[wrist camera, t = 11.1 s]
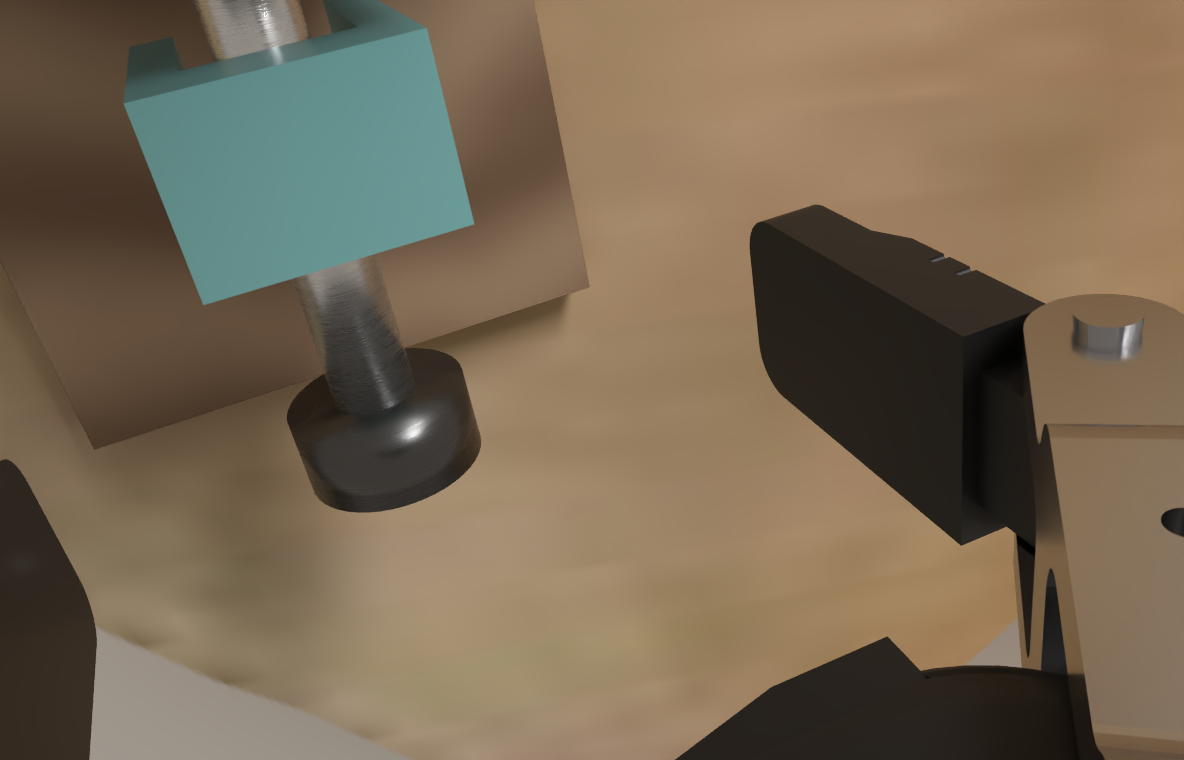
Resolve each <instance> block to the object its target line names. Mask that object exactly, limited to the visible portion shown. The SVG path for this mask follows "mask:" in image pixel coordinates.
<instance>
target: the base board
mask: <svg viewBox="0 0 1184 760" xmlns="http://www.w3.org/2000/svg"><path fill="white" fill-rule="evenodd" d="M299 1H300V4H301V7H302V11H303V14H304V17H305V21H306V24H307V27H308V30H309V34H310V37H311V38H315V37H319V36H324V35H328V34H332V31H331V27H330V24H329V20H328V17H327V13H326V10H325V6H324V3H323V1H325V0H299ZM379 1H380V2H382V3H384V4H386V5H387V6H389V7H391V8H393V9H394V10H396V11H398V12H400V13H401V14H403V15H405V16H407V17H408V18H410V19H412V20H414V21H415V22H417V23H419V24H421V25H423V26H424V27H426V28H427V31H428V35H429V39H430V43H431V47H432V51H433V55H434V59H435V64H436V68H437V72H438V76H439V80H440V84H441V88H442V92H443V97H444V101H445V105H446V109H447V113H448V117H449V121H450V125H451V130H452V134H453V138H454V142H455V146H456V150H457V154H458V158H459V163H460V167H461V171H462V175H463V179H464V183H465V187H466V191H467V196H468V200H469V204H470V208H471V212H472V216H473V220H474V225H470V226H467V227H464V228H460V229H457V230H454V231H450V232H447V233H444V234H440V235H437V236H434V237H430V238H427V239H423V240H420V241H417V242H413V243H410V244H407V245H403V246H400V247H397V248H393V249H390V250H387V251H383V252H380V253H377V254H376V255H377V258H378V262H379V265H380V268H381V271H382V275H383V278H384V281H385V285H386V288H387V291H388V295H389V298H390V301H391V304H392V308H393V311H394V314H395V318H396V321H397V324H398V328H399V331H400V334H401V337H402V341H403V344H404V347H408V346H411V345H414V344H418V343H421V342H424V341H427V340H430V339H433V338H436V337H439V336H442V335H445V334H448V333H451V332H454V331H457V330H460V329H463V328H466V327H469V326H472V325H475V324H479V323H482V322H485V321H488V320H491V319H494V318H497V317H500V316H503V315H506V314H509V313H512V312H515V311H518V310H521V309H524V308H527V307H530V306H533V305H536V304H540V303H543V302H546V301H549V300H552V299H555V298H558V297H561V296H564V295H567V294H570V293H573V292H576V291H579V290H582V289H585V288H588V287H590V286H589V281H588V276H587V271H586V266H585V260H584V255H583V250H582V245H581V240H580V235H579V230H578V225H577V220H576V215H575V209H574V204H573V199H572V194H571V189H570V184H569V179H568V174H567V169H566V164H565V158H564V153H563V148H562V143H561V138H560V133H559V128H558V123H557V118H556V113H555V107H554V102H553V97H552V92H551V87H550V82H549V77H548V72H547V67H546V62H545V56H544V51H543V46H542V41H541V36H540V31H539V26H538V21H537V16H536V11H535V5H534V0H379ZM169 37H173V38H174V41H175V44H176V47H177V49H178V52H179V55H180V58H181V60H182V63H183V66H184V69H189V68H193V67H197V66H201V65H205V64H209V63H213V62H215V60H214V58H213V55H212V52H211V49H210V46H209V43H208V40H207V38H206V35H205V32H204V29H203V26H202V23H201V21H200V18H199V15H198V12H197V9H196V6H195V3H194V1H193V0H0V261H1V263H2V265H3V267H4V269H5V271H6V273H7V275H8V277H9V279H10V281H11V283H12V285H13V287H14V289H15V292H16V294H17V296H18V298H19V300H20V302H21V304H22V306H23V308H24V310H25V312H26V314H27V316H28V318H29V320H30V322H31V324H32V326H33V328H34V330H35V332H36V334H37V336H38V338H39V340H40V342H41V344H42V346H43V348H44V350H45V352H46V354H47V356H48V358H49V360H50V362H51V364H52V366H53V368H54V370H55V372H56V374H57V376H58V378H59V380H60V382H61V384H62V386H63V388H64V390H65V392H66V394H67V396H68V398H69V400H70V402H71V404H72V406H73V408H74V410H75V412H76V414H77V416H78V418H79V420H80V422H81V424H82V426H83V428H84V430H85V432H86V434H87V436H88V438H89V440H90V442H91V444H92V446H93V448H94V449H97V448H100V447H103V446H106V445H110V444H113V443H116V442H119V441H122V440H125V439H128V438H131V437H134V436H137V435H140V434H143V433H146V432H149V431H152V430H155V429H158V428H161V427H164V426H167V425H171V424H174V423H177V422H180V421H183V420H186V419H189V418H192V417H195V416H198V415H201V414H204V413H207V412H210V411H213V410H216V409H219V408H222V407H225V406H228V405H232V404H235V403H238V402H241V401H244V400H247V399H250V398H253V397H256V396H259V395H262V394H265V393H268V392H271V391H274V390H277V389H280V388H283V387H286V386H289V385H293V384H296V383H299V382H302V381H305V380H308V379H311V378H314V377H317V376H320V375H323V374H324V371H323V368H322V365H321V362H320V359H319V356H318V354H317V351H316V348H315V345H314V342H313V339H312V336H311V334H310V331H309V328H308V325H307V322H306V319H305V317H304V314H303V311H302V308H301V305H300V302H299V299H298V297H297V294H296V291H295V288H294V285H293V282H292V280H291V279H290V280H286V281H283V282H280V283H276V284H273V285H270V286H266V287H263V288H260V289H256V290H253V291H250V292H246V293H243V294H239V295H236V296H233V297H229V298H226V299H223V300H219V301H216V302H213V303H209V304H206V305H203V303H202V300H201V298H200V295H199V293H198V290H197V288H196V285H195V283H194V280H193V278H192V275H191V273H190V270H189V268H188V265H187V263H186V260H185V258H184V255H183V252H182V250H181V247H180V245H179V242H178V240H177V237H176V235H175V232H174V230H173V227H172V225H171V222H170V220H169V217H168V215H167V212H166V210H165V207H164V204H163V202H162V199H161V197H160V194H159V192H158V189H157V187H156V184H155V182H154V179H153V177H152V174H151V172H150V169H149V167H148V164H147V162H146V159H145V156H144V154H143V151H142V149H141V146H140V144H139V141H138V139H137V136H136V134H135V131H134V129H133V126H132V124H131V121H130V119H129V116H128V114H127V111H126V109H125V106H124V94H125V85H126V75H127V65H128V55H129V47H131V46H135V45H140V44H144V43H148V42H152V41H157V40H161V39H165V38H169Z"/></svg>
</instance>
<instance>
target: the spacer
mask: <svg viewBox="0 0 1184 760" xmlns="http://www.w3.org/2000/svg"><path fill="white" fill-rule="evenodd" d="M323 3H324V6H325V10H326V13H327V17H328V20H329V24H330V27H331V31H332V34H328V35H324V36H319V37H315V38H311V39H307V40H303V41H299V42H295V43H291V44H287V45H283V46H279V47H275V48H271V49H267V50H262V51H258V52H254V53H250V54H246V55H242V56H238V57H234V58H230V59H226V60H221V61H217V62H213V63H209V64H205V65H201V66H197V67H193V68H189V69H184V66H183V63H182V60H181V58H180V55H179V52H178V49H177V47H176V44H175V41H174V38H173V37H169V38H165V39H161V40H157V41H152V42H148V43H144V44H140V45H135V46H131V47H129V55H128V65H127V75H126V85H125V94H124V106H125V109H126V111H127V114H128V116H129V119H130V121H131V124H132V126H133V129H134V131H135V134H136V136H137V139H138V141H139V144H140V146H141V149H142V151H143V154H144V156H145V159H146V162H147V164H148V167H149V169H150V172H151V174H152V177H153V179H154V182H155V184H156V187H157V189H158V192H159V194H160V197H161V199H162V202H163V204H164V207H165V210H166V212H167V215H168V217H169V220H170V222H171V225H172V227H173V230H174V232H175V235H176V237H177V240H178V242H179V245H180V247H181V250H182V252H183V255H184V258H185V260H186V263H187V265H188V268H189V270H190V273H191V275H192V278H193V280H194V283H195V285H196V288H197V290H198V293H199V295H200V298H201V300H202V303H203V305H206V304H209V303H213V302H216V301H219V300H223V299H226V298H229V297H233V296H236V295H239V294H243V293H246V292H250V291H253V290H256V289H260V288H263V287H266V286H270V285H273V284H276V283H280V282H283V281H286V280H290V279H293V278H296V277H300V276H303V275H306V274H310V273H313V272H316V271H320V270H323V269H326V268H330V267H333V266H337V265H340V264H343V263H347V262H350V261H353V260H357V259H360V258H363V257H367V256H370V255H373V254H377V253H380V252H383V251H387V250H390V249H393V248H397V247H400V246H403V245H407V244H410V243H413V242H417V241H420V240H423V239H427V238H430V237H434V236H437V235H440V234H444V233H447V232H450V231H454V230H457V229H460V228H464V227H467V226H470V225H474V220H473V216H472V212H471V208H470V204H469V200H468V196H467V191H466V187H465V183H464V179H463V175H462V171H461V167H460V163H459V158H458V154H457V150H456V146H455V142H454V138H453V134H452V130H451V125H450V121H449V117H448V113H447V109H446V105H445V101H444V97H443V92H442V88H441V84H440V80H439V76H438V72H437V68H436V64H435V59H434V55H433V51H432V47H431V43H430V39H429V35H428V31H427V28H426V27H424V26H423V25H421V24H419V23H417V22H415V21H414V20H412V19H410V18H408V17H407V16H405V15H403V14H401V13H400V12H398V11H396V10H394V9H393V8H391V7H389V6H387V5H386V4H384V3H382V2H380V1H379V0H325V1H323Z"/></svg>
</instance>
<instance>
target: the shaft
mask: <svg viewBox="0 0 1184 760" xmlns="http://www.w3.org/2000/svg"><path fill="white" fill-rule="evenodd" d="M193 1H194V3H195V6H196V9H197V12H198V15H199V18H200V21H201V23H202V26H203V29H204V32H205V35H206V38H207V40H208V43H209V46H210V49H211V52H212V55H213V58H214V60H215V62H217V61H221V60H226V59H230V58H234V57H238V56H242V55H246V54H250V53H254V52H258V51H262V50H267V49H271V48H275V47H279V46H283V45H287V44H291V43H295V42H299V41H303V40H307V39H311V37H310V34H309V30H308V27H307V24H306V21H305V17H304V14H303V11H302V7H301V4H300V1H299V0H193ZM291 280H292V282H293V285H294V288H295V291H296V294H297V297H298V299H299V302H300V305H301V308H302V311H303V314H304V317H305V319H306V322H307V325H308V328H309V331H310V334H311V336H312V339H313V342H314V345H315V348H316V351H317V354H318V356H319V359H320V362H321V365H322V368H323V371H324V374H323V375H321V376H320V377H318V378H317V379H315V380H314V381H312V382H311V383H310V384H309V385H307V386H306V387H305V388H304V389H303V390H302V391H301V392H300V393H299V394H298V395H297V396H296V397H295V399H294V400H293V402H292V403H291V405H290V407H289V410H288V414H287V421H288V425H289V427H290V430H291V433H292V435H293V438H294V440H295V443H296V446H297V448H298V451H299V453H300V456H301V459H302V461H303V464H304V467H305V469H306V472H307V474H308V477H309V480H310V482H311V485H312V488H313V490H314V492H315V494H316V496H317V497H318V498H319V499H320V500H321V501H322V502H323V503H324V504H326V505H328V506H330V507H332V508H335V509H338V510H343V511H348V512H378V511H385V510H391V509H395V508H399V507H403V506H406V505H410V504H413V503H416V502H418V501H421V500H423V499H425V498H428V497H430V496H432V495H434V494H436V493H438V492H439V491H441V490H443V489H445V488H446V487H448V486H449V485H451V484H452V483H453V482H455V481H456V480H457V479H459V478H460V477H461V476H462V475H463V474H464V473H465V472H466V471H467V470H468V469H469V468H470V467H471V465H472V464H473V463H474V461H475V460H476V458H477V456H478V454H479V451H480V448H481V437H480V433H479V429H478V426H477V422H476V418H475V415H474V411H473V407H472V404H471V400H470V396H469V393H468V389H467V386H466V382H465V378H464V375H463V371H462V368H461V366H460V364H459V363H458V362H457V360H456V359H454V358H453V357H452V356H450V355H448V354H446V353H443V352H440V351H435V350H431V349H417V348H411V349H405V347H404V344H403V341H402V337H401V334H400V331H399V328H398V324H397V321H396V318H395V314H394V311H393V308H392V304H391V301H390V298H389V295H388V291H387V288H386V285H385V281H384V278H383V275H382V271H381V268H380V265H379V262H378V258H377V255H376V254H373V255H370V256H367V257H363V258H360V259H357V260H353V261H350V262H347V263H343V264H340V265H337V266H333V267H330V268H326V269H323V270H320V271H316V272H313V273H310V274H306V275H303V276H300V277H296V278H293V279H291Z"/></svg>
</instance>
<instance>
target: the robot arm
mask: <svg viewBox="0 0 1184 760" xmlns="http://www.w3.org/2000/svg"><path fill="white" fill-rule="evenodd" d="M750 256H751V266H752V276H753V286H754V296H755V306H756V316H757V326H758V336H759V345H760V352H761V356H762V360H763V363H764V366H765V369H766V371H767V373H768V375H769V378H770V379H771V381H772V383H773V385H774V386H775V388H776V389H777V390H778V392H779V393H780V394H781V395H782V396H783V397H784V398H785V399H787V400H788V401H789V402H790V403H791V404H793V405H794V406H795V407H796V408H797V409H799V410H800V411H801V412H802V413H803V414H805V415H806V416H807V417H808V418H809V419H811V420H812V421H813V422H814V423H815V424H817V425H818V426H819V427H820V428H821V429H823V430H824V431H825V432H826V433H827V434H828V435H830V436H831V437H832V438H833V439H834V440H836V441H837V442H838V443H839V444H840V445H842V446H843V447H844V448H845V449H846V450H848V451H849V452H850V453H851V454H852V455H854V456H855V457H856V458H857V459H858V460H860V461H861V462H862V463H863V464H864V465H866V466H867V467H868V468H869V469H870V470H871V471H873V472H874V473H875V474H876V475H877V476H879V477H880V478H881V479H882V480H883V481H885V482H886V483H887V484H888V485H889V486H891V487H892V488H893V489H894V490H895V491H897V492H898V493H899V494H900V495H901V496H903V497H904V498H905V499H906V500H907V501H908V502H910V503H911V504H912V505H913V506H914V507H916V508H917V509H918V510H919V511H920V512H922V513H923V514H924V515H925V516H926V517H928V518H929V519H930V520H931V521H932V522H934V523H935V524H936V525H937V526H938V527H940V528H941V529H942V530H943V531H944V532H946V533H947V534H948V535H949V536H950V537H951V538H953V539H954V540H955V541H956V542H957V543H959V544H960V545H961V546H962V545H964V544H966V543H969V542H971V541H974V540H976V539H978V538H981V537H983V536H985V535H988V534H990V533H992V532H995V531H997V530H1000V529H1002V528H1004V527H1008V528H1009V529H1011V530H1012V531H1013V532H1015V536H1014V559H1013V565H1014V577H1015V589H1016V601H1017V613H1018V626H1019V637H1020V650H1021V662H1022V668H1017V667H1008V666H955V667H944V668H934V669H928V670H923V671H920V670H919V669H918V668H917V667H916V666H915V665H914V664H913V663H912V662H911V661H910V660H909V659H908V657H907V656H906V655H905V654H904V653H903V652H902V651H901V650H900V649H899V648H898V647H897V646H896V645H895V644H894V643H893V642H892V641H891V640H890V639H889V638H888V637H885V638H883V639H881V640H878V641H876V642H874V643H871V644H869V645H867V646H865V647H862V648H860V649H858V650H855V651H853V652H851V653H849V654H846V655H844V656H842V657H839V658H837V659H835V660H833V661H830V662H828V663H826V664H823V665H821V666H819V667H817V668H814V669H812V670H810V671H807V672H805V673H803V674H801V675H798V676H796V677H794V678H791V679H789V680H787V681H785V682H782V683H780V684H778V685H775V686H773V687H771V688H770V689H768V690H767V691H766V692H764V693H763V694H762V695H760V696H759V697H758V698H756V699H755V700H754V701H752V702H751V703H750V704H748V705H747V706H746V707H745V708H743V709H742V710H741V711H739V712H738V713H737V714H735V715H734V716H733V717H731V718H730V719H729V720H727V721H726V722H725V723H723V724H722V725H721V726H719V727H718V728H717V729H715V730H714V731H713V732H711V733H710V734H709V735H707V736H706V737H705V738H703V739H702V740H701V741H699V742H698V743H697V744H695V745H694V746H693V747H691V748H690V749H689V750H687V751H686V752H685V753H683V754H682V755H681V756H680V757H678V758H677V759H676V760H1184V315H1183V314H1182V313H1180V312H1179V311H1177V310H1175V309H1173V308H1171V307H1169V306H1167V305H1165V304H1162V303H1159V302H1156V301H1153V300H1148V299H1144V298H1140V297H1134V296H1127V295H1117V294H1088V295H1079V296H1071V297H1067V298H1062V299H1058V300H1055V301H1052V302H1049V303H1047V304H1045V303H1043V302H1041V301H1039V300H1037V299H1035V298H1032V297H1030V296H1028V295H1026V294H1024V293H1022V292H1020V291H1018V290H1016V289H1014V288H1012V287H1010V286H1008V285H1006V284H1004V283H1002V282H1000V281H998V280H996V279H994V278H992V277H990V276H988V275H986V274H983V273H981V272H979V271H977V270H975V271H972V272H971V270H970V267H969V266H967V265H965V264H963V263H961V262H959V261H957V260H955V259H953V258H951V257H949V258H946V259H945V257H944V254H943V253H941V252H939V251H937V250H934V249H932V248H930V247H928V246H926V245H924V244H922V243H920V242H918V241H916V240H914V239H912V238H907V237H902V236H897V235H892V234H887V233H881V232H876V231H871V230H869V229H867V228H865V227H863V226H861V225H859V224H857V223H855V222H853V221H851V220H849V219H847V218H845V217H843V216H841V215H839V214H837V213H835V212H834V211H832V210H830V209H828V208H826V207H824V206H821V205H812V206H809V207H806V208H803V209H800V210H796V211H793V212H790V213H787V214H784V215H781V216H778V217H774V218H771V219H768V220H765V221H762V222H759V223H757V224H756V225H755V226H754V227H753V229H752V232H751V236H750ZM96 647H97V638H96V628H95V623H94V618H93V614H92V610H91V607H90V604H89V601H88V598H87V595H86V593H85V590H84V588H83V586H82V584H81V582H80V580H79V578H78V576H77V574H76V572H75V570H74V568H73V566H72V565H71V563H70V561H69V559H68V557H67V555H66V553H65V551H64V550H63V548H62V546H61V544H60V542H59V540H58V538H57V537H56V535H55V533H54V531H53V529H52V527H51V525H50V524H49V522H48V520H47V518H46V516H45V514H44V512H43V510H42V509H41V507H40V505H39V503H38V501H37V499H36V497H35V496H34V494H33V492H32V490H31V488H30V486H29V484H28V483H27V481H26V479H25V477H24V476H23V474H22V473H21V471H20V470H19V469H18V468H17V466H16V465H14V464H13V463H12V462H11V461H9V460H6V459H5V460H2V461H0V760H89V755H90V739H91V724H92V709H93V693H94V678H95V677H94V676H95V662H96Z"/></svg>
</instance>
